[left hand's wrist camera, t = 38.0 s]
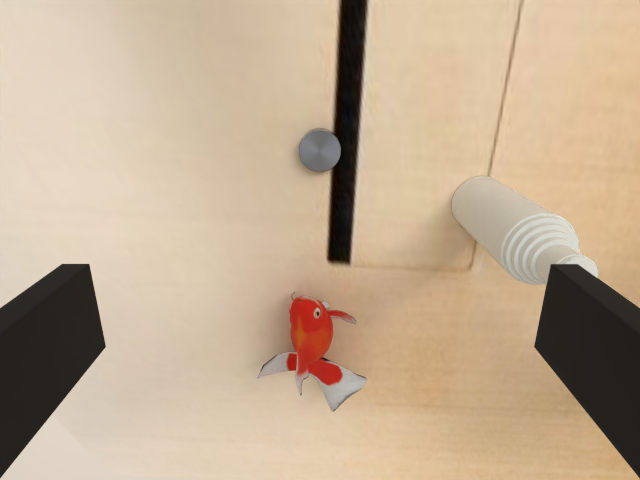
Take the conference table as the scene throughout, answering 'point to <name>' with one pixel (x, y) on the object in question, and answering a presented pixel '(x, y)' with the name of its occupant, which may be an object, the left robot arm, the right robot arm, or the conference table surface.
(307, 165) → the cap
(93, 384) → the conference table surface
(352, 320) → the fish
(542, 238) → the bottle
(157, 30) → the conference table surface
